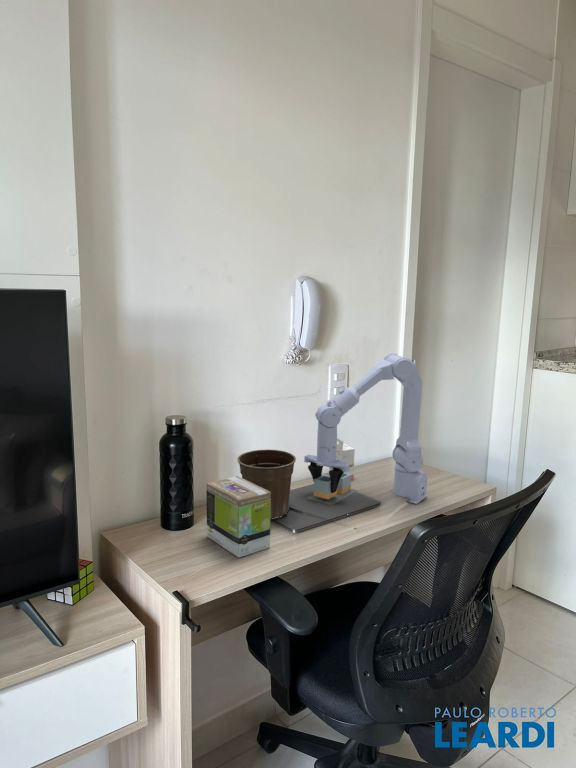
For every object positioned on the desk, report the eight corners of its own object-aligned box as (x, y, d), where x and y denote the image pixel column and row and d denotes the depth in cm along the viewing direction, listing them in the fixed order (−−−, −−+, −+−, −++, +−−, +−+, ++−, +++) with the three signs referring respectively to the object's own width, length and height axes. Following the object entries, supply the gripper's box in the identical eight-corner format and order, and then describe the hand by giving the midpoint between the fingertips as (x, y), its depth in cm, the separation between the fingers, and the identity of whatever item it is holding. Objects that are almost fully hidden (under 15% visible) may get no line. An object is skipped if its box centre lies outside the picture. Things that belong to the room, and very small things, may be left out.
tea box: (271, 547, 143) (272, 491, 140) (237, 559, 137) (237, 500, 134) (237, 526, 154) (238, 474, 152) (205, 536, 148) (204, 481, 146)
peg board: (357, 494, 179) (358, 481, 178) (331, 509, 167) (332, 495, 166) (332, 487, 184) (333, 474, 183) (306, 501, 172) (306, 488, 171)
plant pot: (247, 527, 154) (247, 470, 151) (230, 505, 169) (230, 452, 166) (303, 519, 160) (305, 463, 157) (282, 498, 175) (283, 447, 172)
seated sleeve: (350, 489, 179) (351, 474, 178) (342, 494, 175) (342, 478, 174) (336, 486, 182) (337, 471, 181) (328, 490, 178) (328, 475, 177)
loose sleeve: (336, 494, 173) (337, 478, 172) (328, 499, 169) (328, 483, 168) (322, 490, 175) (323, 474, 174) (313, 495, 171) (314, 479, 171)
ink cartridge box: (354, 483, 188) (356, 439, 185) (341, 485, 186) (342, 441, 183) (341, 475, 196) (342, 433, 193) (328, 477, 194) (329, 434, 191)
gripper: (298, 444, 170) (297, 487, 173) (341, 453, 162) (339, 499, 164) (312, 438, 176) (311, 481, 178) (353, 447, 167) (352, 492, 170)
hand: (325, 489), depth 172 cm, fingers closed on loose sleeve, 5 cm apart
